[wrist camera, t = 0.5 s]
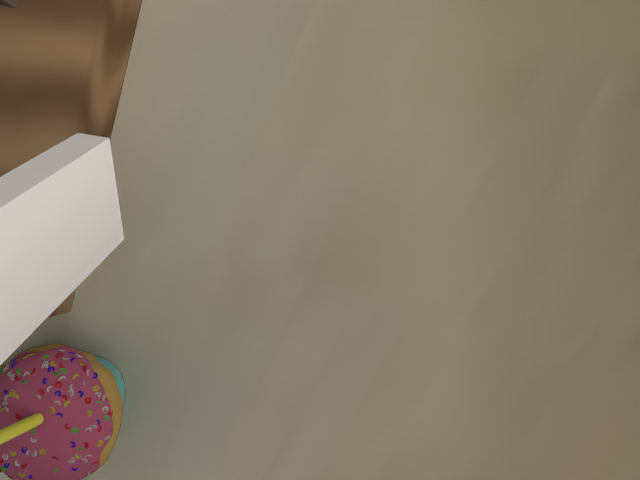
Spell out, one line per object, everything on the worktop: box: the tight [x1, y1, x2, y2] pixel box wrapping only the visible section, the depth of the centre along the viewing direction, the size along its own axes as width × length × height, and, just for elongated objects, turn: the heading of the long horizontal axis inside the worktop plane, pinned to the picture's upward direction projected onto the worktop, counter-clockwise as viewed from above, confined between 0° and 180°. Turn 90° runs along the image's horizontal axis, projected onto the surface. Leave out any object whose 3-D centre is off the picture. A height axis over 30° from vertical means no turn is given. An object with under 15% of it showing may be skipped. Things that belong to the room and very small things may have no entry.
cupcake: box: [0, 344, 125, 480], centre depth 28 cm, size 9×8×12 cm
